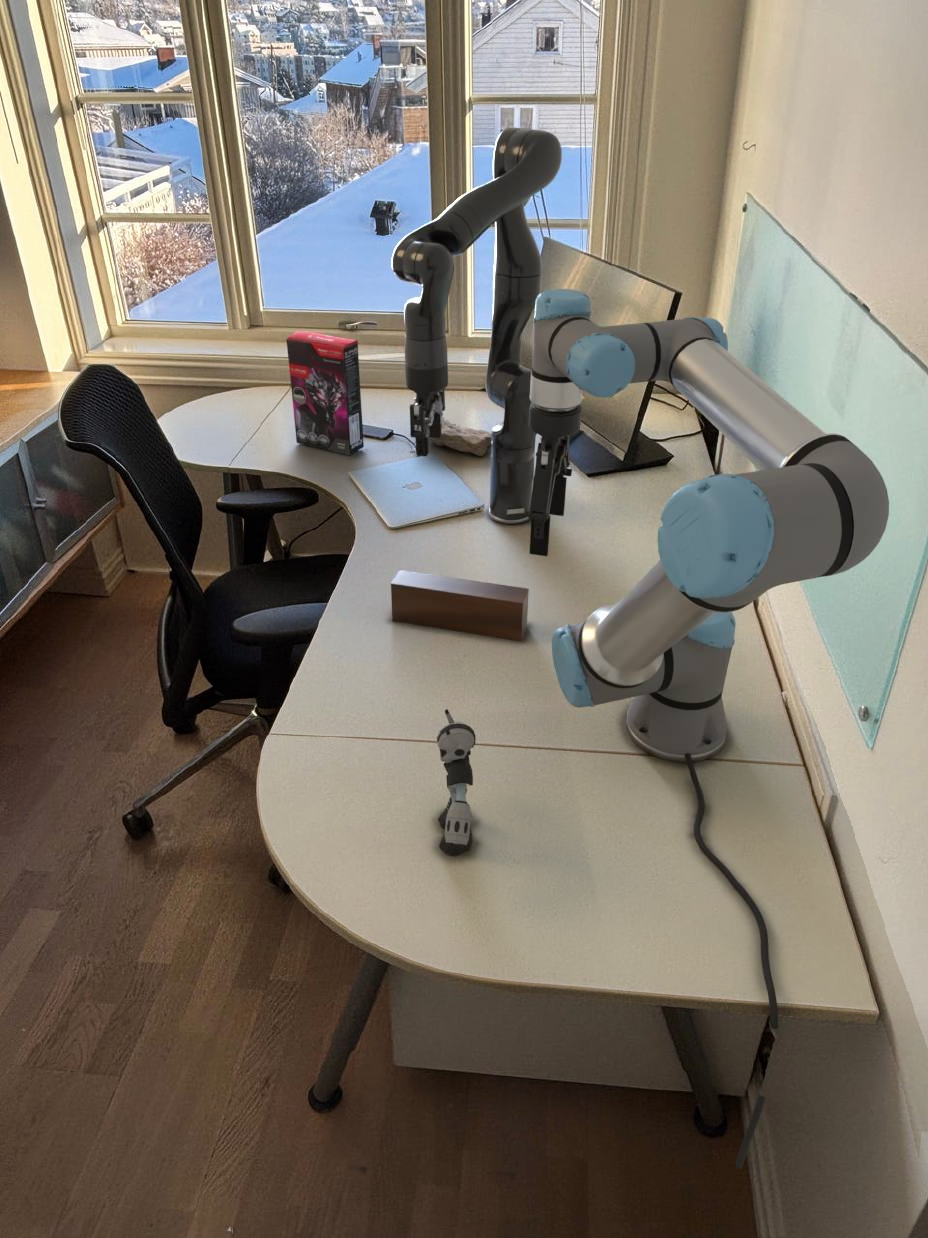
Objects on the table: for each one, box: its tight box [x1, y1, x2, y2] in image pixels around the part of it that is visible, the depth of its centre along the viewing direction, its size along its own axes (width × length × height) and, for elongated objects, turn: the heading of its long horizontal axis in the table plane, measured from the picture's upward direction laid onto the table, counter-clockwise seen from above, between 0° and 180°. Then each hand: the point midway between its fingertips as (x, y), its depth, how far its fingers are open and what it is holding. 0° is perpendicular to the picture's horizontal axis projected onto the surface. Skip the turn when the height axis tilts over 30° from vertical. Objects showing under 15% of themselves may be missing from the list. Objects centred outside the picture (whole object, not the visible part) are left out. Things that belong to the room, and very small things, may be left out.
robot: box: [436, 708, 477, 857], centre depth 119 cm, size 20×5×20 cm, turn 3°
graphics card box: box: [285, 330, 365, 456], centre depth 225 cm, size 17×7×27 cm, turn 62°
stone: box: [419, 416, 492, 457], centre depth 232 cm, size 21×15×6 cm
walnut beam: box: [390, 569, 530, 642], centre depth 165 cm, size 5×24×8 cm, turn 75°
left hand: (429, 445), depth 171 cm, fingers open, 8 cm apart
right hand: (547, 533), depth 144 cm, fingers open, 13 cm apart
